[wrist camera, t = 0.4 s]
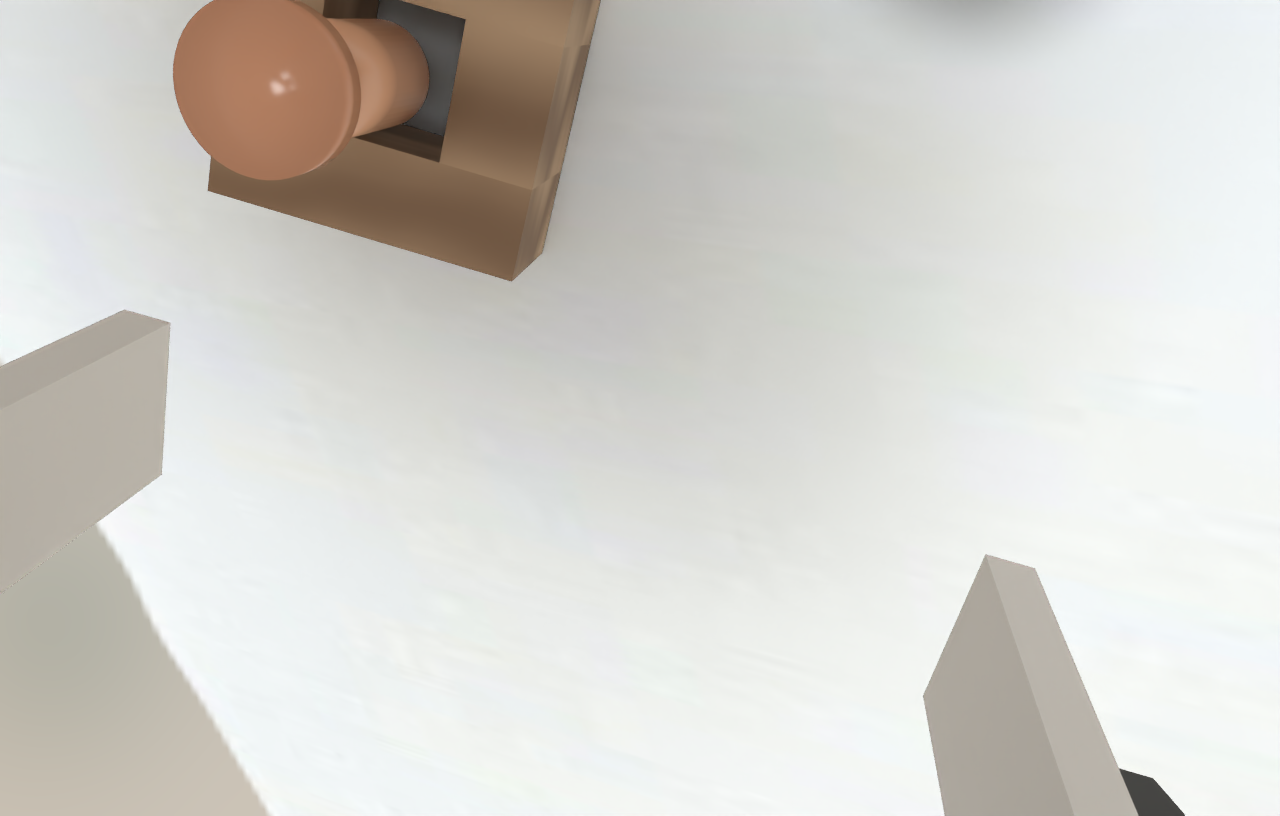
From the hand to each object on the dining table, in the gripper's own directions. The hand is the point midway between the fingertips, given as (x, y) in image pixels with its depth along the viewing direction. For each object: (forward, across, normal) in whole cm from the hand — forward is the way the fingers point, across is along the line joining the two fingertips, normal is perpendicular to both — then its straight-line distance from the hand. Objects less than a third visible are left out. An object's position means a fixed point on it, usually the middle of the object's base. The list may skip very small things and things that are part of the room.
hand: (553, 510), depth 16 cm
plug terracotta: (+21, -12, +2) cm, 25 cm away
